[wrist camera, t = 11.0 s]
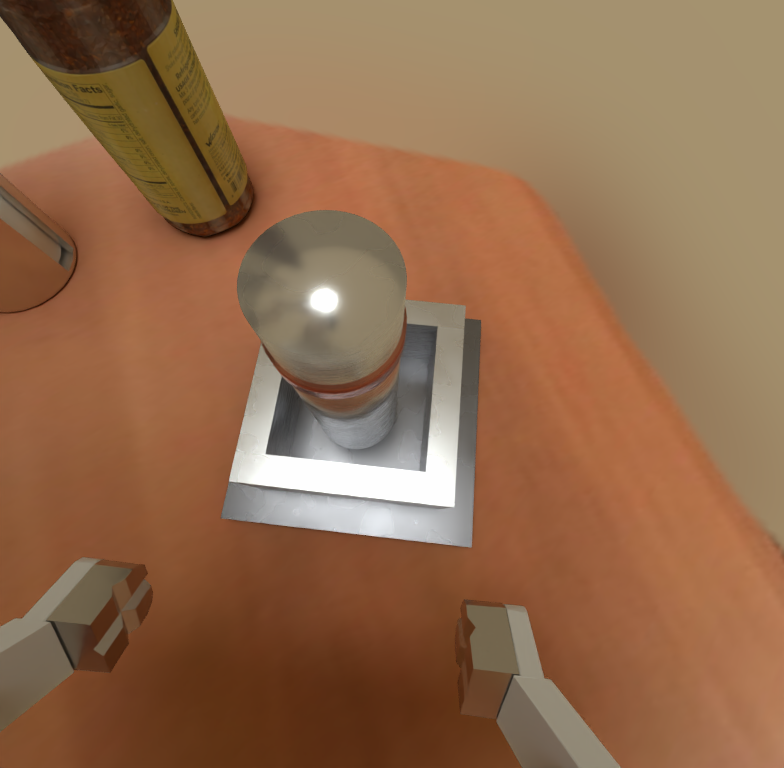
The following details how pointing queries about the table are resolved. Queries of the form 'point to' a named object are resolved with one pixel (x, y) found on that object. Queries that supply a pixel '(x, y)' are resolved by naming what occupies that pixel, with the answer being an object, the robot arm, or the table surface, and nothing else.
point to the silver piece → (30, 252)
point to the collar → (376, 463)
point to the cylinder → (331, 318)
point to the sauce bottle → (141, 102)
